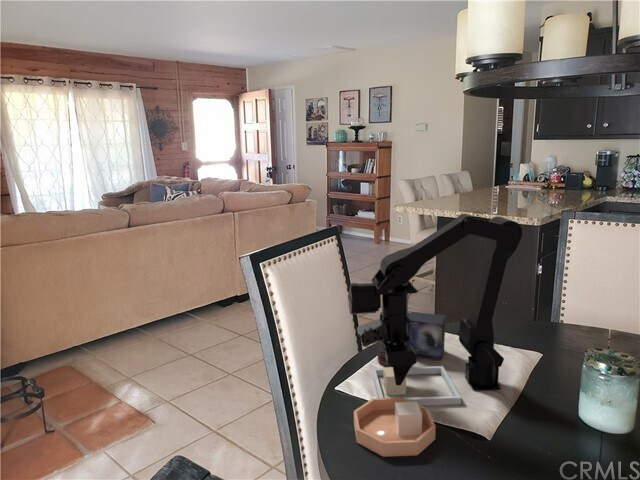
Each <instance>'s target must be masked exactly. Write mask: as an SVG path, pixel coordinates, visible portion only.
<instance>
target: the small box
mask: <svg viewBox="0 0 640 480" xmlns="http://www.w3.org/2000/svg"><path fill="white" fill-rule="evenodd" d="M408 317H409V318H410V323H408V334H409V336H410V341H404V343H405V344H410V345H411V346H412V347H413V348H414V350H415V352H416V354H417V358H424V359H430V360H436V361H442V359H443V357H444V353H445V351H446V350H445V341H446V339H445V336H446V335H445V333H446V315H444V314H435V313H426V312H418V311H410V310H408Z"/></svg>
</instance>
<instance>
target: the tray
mask: <svg viewBox="0 0 640 480" xmlns="http://www.w3.org/2000/svg"><path fill="white" fill-rule="evenodd" d="M383 368H384V367H383ZM383 368H382V367H381V368H372V369H371V376H372V379H373V383H374V388H375V391H376V396H377V398H384V395H383V392H382V387H381V384H380V382H379V378H378V377H379V376H382V377H383ZM431 374H433V375H435V374H436V375H437V374H438V375H439V374H440V375H441V378H442V380H443V381H444V383H445V385H446V386H447V388H448V391H449V392H450V394H451V395H447V396H445V395H444V396H425V397H424V396H423V397H422V396H419V397H404V398H405V399H407V400H409V401H412V402H417V403H418V404H419V405H421V406H441V405H442V406H444V405H461V404H462V396H461V395H460V393H459V391H458V390H457V388H456V386H455V385H454V383H453V381H452V380H451V378H450V376H449V374H448V373H447V371H446V369H445V367H444V365H441V366H439V365H436V366H415V367H413V366H412V367H411V368H410V370H409V371H408V373H407V375H411V376H412V375H431ZM407 375H406V376H407Z"/></svg>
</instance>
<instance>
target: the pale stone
mask: <svg viewBox="0 0 640 480" xmlns="http://www.w3.org/2000/svg"><path fill="white" fill-rule="evenodd" d="M395 425H396V428H397V432H398V435H399V436H409V435H422V413H421V410H420V408H419V405H418V403H417V402H395Z"/></svg>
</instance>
